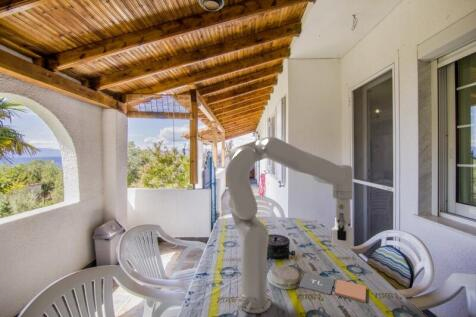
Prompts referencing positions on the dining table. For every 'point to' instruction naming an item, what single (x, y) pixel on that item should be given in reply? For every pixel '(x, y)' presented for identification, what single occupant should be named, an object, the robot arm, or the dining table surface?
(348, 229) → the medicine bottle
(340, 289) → the terracotta pad
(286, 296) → the dining table surface
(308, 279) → the tile
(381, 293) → the dining table surface
